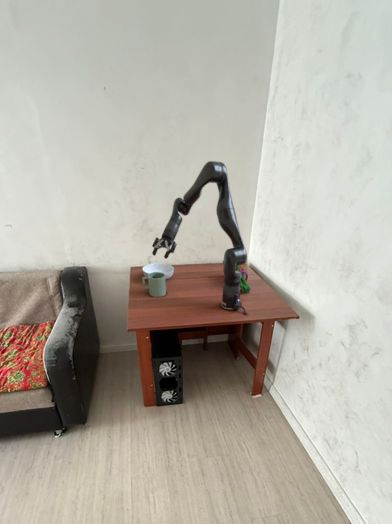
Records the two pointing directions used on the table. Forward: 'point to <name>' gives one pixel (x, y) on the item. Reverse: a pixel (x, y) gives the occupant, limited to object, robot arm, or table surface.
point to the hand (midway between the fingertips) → (159, 256)
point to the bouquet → (242, 278)
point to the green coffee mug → (156, 284)
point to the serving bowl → (158, 269)
